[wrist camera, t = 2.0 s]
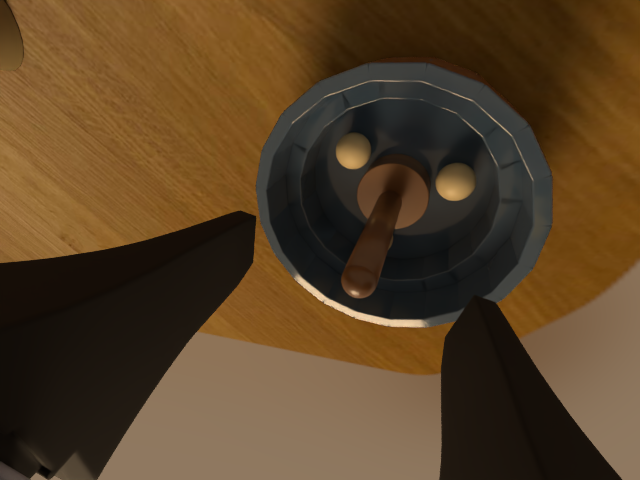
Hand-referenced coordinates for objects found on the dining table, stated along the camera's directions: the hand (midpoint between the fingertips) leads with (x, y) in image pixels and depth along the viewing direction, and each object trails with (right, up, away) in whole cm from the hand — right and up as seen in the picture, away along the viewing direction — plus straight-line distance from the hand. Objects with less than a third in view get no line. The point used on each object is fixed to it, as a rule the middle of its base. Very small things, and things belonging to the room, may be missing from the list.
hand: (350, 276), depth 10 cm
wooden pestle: (+3, +4, +7) cm, 9 cm away
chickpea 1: (+1, +6, +6) cm, 8 cm away
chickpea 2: (+5, +4, +5) cm, 8 cm away
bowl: (+3, +4, +7) cm, 9 cm away
